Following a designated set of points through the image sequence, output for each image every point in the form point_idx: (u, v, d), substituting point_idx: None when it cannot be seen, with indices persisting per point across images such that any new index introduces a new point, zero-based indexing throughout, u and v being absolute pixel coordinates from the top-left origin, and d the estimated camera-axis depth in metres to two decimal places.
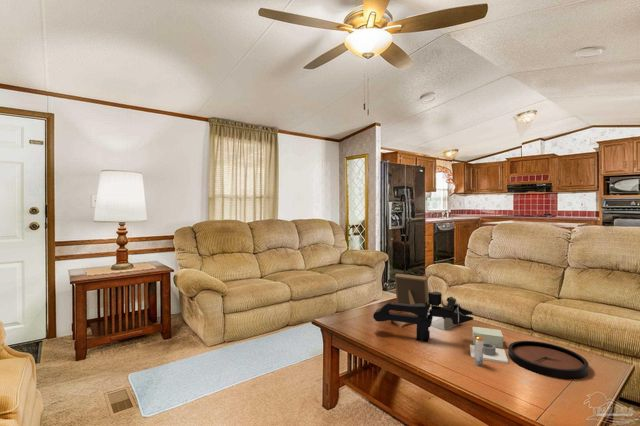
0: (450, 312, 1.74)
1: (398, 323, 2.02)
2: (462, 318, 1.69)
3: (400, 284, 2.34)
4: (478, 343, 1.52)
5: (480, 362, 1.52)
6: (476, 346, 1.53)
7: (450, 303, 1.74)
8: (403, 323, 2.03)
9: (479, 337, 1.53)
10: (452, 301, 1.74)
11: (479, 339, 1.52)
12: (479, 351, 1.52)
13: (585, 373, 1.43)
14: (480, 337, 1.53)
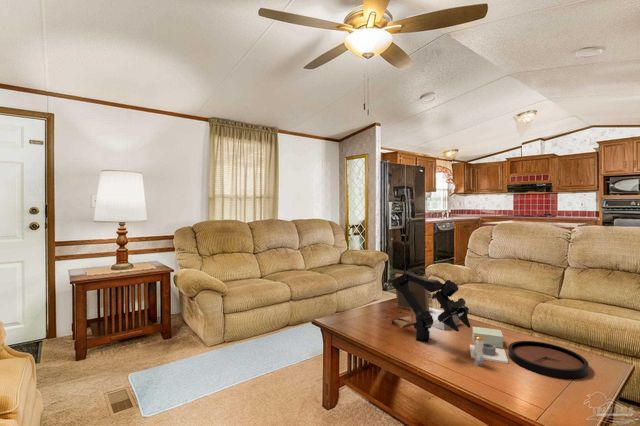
0: (448, 309, 1.65)
1: (399, 323, 2.02)
2: (449, 322, 1.61)
3: None
4: (478, 343, 1.52)
5: (480, 362, 1.52)
6: (476, 346, 1.53)
7: (454, 304, 1.62)
8: (404, 323, 2.02)
9: (479, 337, 1.53)
10: (457, 304, 1.61)
11: (479, 339, 1.52)
12: (479, 351, 1.52)
13: (585, 373, 1.43)
14: (480, 337, 1.53)
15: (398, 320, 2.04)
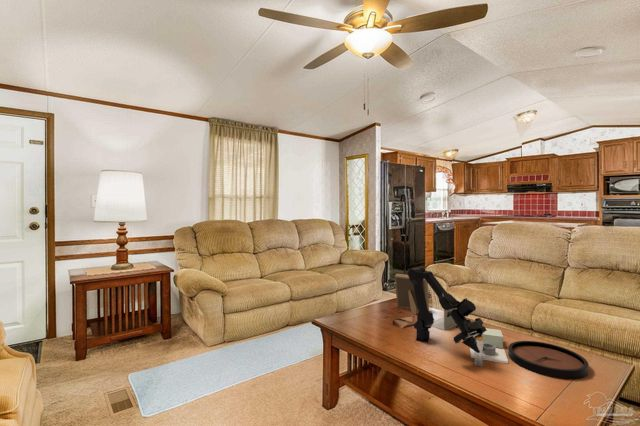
0: (464, 329, 1.57)
1: (399, 324, 2.01)
2: (469, 342, 1.54)
3: (400, 284, 2.34)
4: (478, 343, 1.52)
5: (480, 362, 1.52)
6: None
7: (471, 324, 1.54)
8: (404, 324, 2.01)
9: (479, 337, 1.53)
10: (474, 325, 1.53)
11: (479, 339, 1.52)
12: None
13: (585, 373, 1.43)
14: (480, 337, 1.53)
15: (399, 320, 2.04)
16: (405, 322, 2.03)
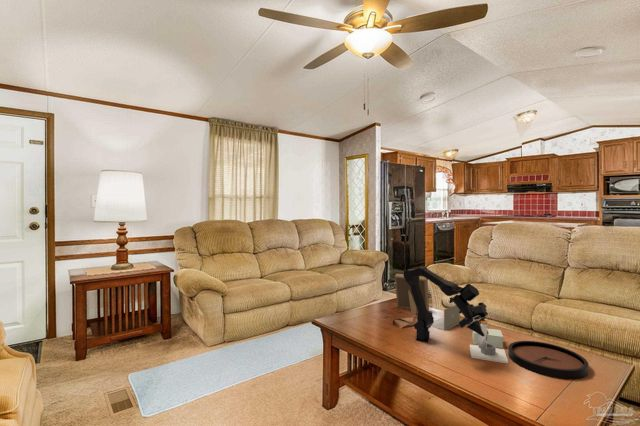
0: (468, 314, 1.58)
1: (399, 324, 2.01)
2: (474, 326, 1.56)
3: (400, 284, 2.34)
4: (483, 326, 1.54)
5: (484, 345, 1.54)
6: None
7: (476, 309, 1.56)
8: (404, 324, 2.01)
9: (483, 321, 1.55)
10: (479, 309, 1.55)
11: (484, 323, 1.54)
12: None
13: (585, 373, 1.43)
14: (484, 321, 1.55)
15: (399, 320, 2.04)
16: (405, 322, 2.02)
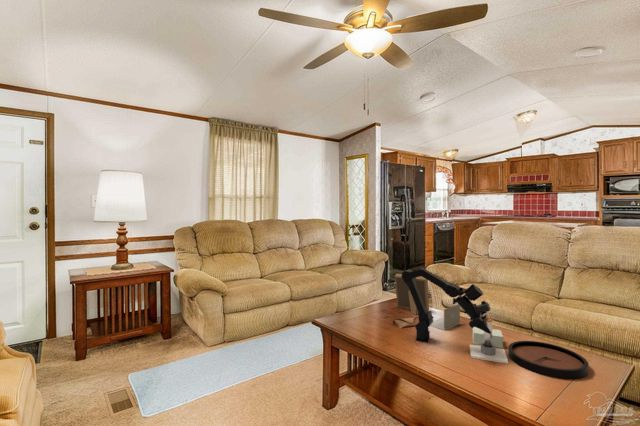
0: (475, 313, 1.64)
1: (399, 324, 2.01)
2: (481, 325, 1.62)
3: (400, 284, 2.34)
4: (489, 324, 1.62)
5: (490, 342, 1.62)
6: None
7: (482, 308, 1.63)
8: (404, 324, 2.00)
9: (489, 319, 1.63)
10: (486, 308, 1.62)
11: (490, 320, 1.62)
12: None
13: (585, 373, 1.43)
14: (489, 318, 1.63)
15: (399, 320, 2.04)
16: (405, 322, 2.02)
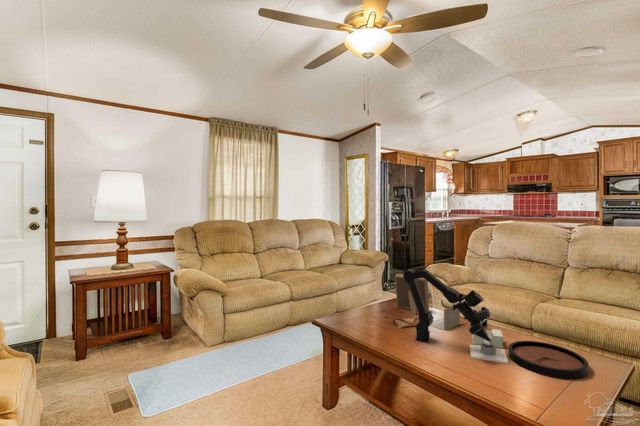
0: (475, 319, 1.65)
1: (398, 324, 2.01)
2: (481, 333, 1.61)
3: (400, 284, 2.34)
4: (489, 332, 1.62)
5: None
6: None
7: (482, 314, 1.63)
8: (404, 324, 2.00)
9: (488, 327, 1.63)
10: (486, 314, 1.62)
11: (489, 328, 1.62)
12: None
13: (585, 373, 1.43)
14: (489, 326, 1.63)
15: (399, 320, 2.04)
16: (405, 323, 2.02)
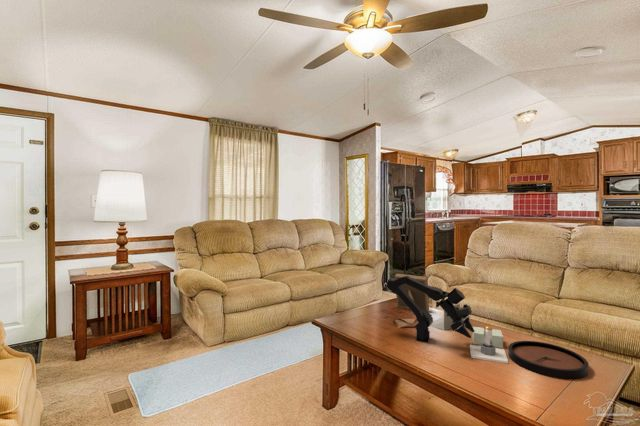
0: (457, 316, 1.69)
1: (398, 324, 2.01)
2: (462, 329, 1.65)
3: None
4: (489, 332, 1.62)
5: None
6: (487, 336, 1.62)
7: (464, 311, 1.68)
8: (403, 325, 2.00)
9: (488, 327, 1.63)
10: (467, 311, 1.67)
11: (490, 329, 1.62)
12: (490, 340, 1.62)
13: (585, 373, 1.43)
14: (489, 326, 1.63)
15: (399, 321, 2.03)
16: (405, 323, 2.01)
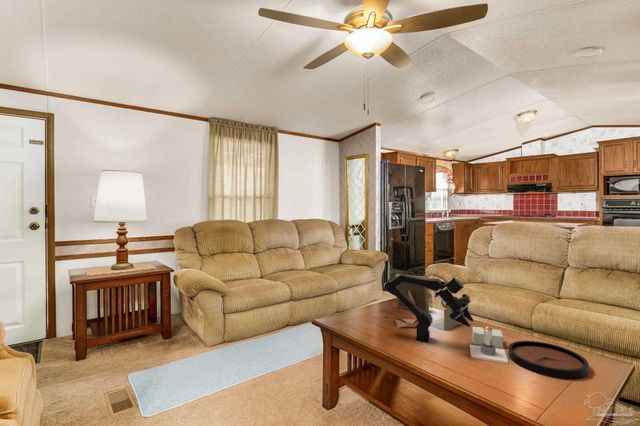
0: (455, 306, 1.71)
1: (397, 324, 2.01)
2: (460, 318, 1.66)
3: (400, 284, 2.34)
4: (489, 332, 1.62)
5: None
6: (487, 336, 1.62)
7: (463, 300, 1.69)
8: (402, 325, 2.00)
9: (488, 327, 1.63)
10: (466, 300, 1.68)
11: (490, 329, 1.62)
12: (490, 340, 1.62)
13: (585, 373, 1.43)
14: (489, 327, 1.63)
15: (399, 321, 2.03)
16: (404, 323, 2.01)
